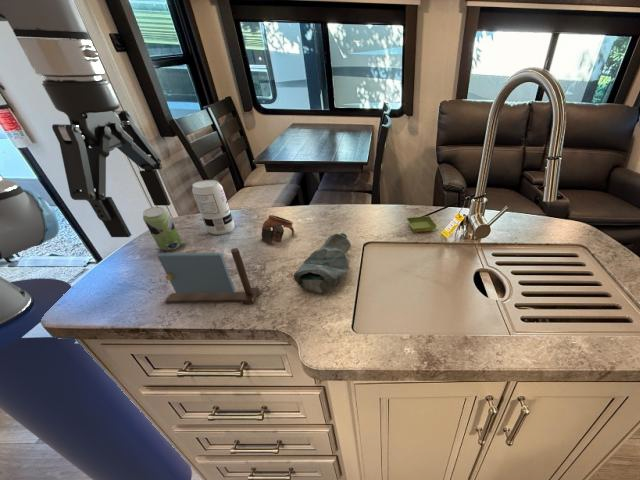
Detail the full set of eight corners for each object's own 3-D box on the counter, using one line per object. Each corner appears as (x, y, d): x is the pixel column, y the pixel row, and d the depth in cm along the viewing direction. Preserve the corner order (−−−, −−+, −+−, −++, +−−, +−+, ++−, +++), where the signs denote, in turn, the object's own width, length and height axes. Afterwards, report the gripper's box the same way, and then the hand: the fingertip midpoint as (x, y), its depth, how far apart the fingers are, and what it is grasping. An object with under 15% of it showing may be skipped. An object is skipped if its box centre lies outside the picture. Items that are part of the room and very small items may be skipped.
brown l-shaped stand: (164, 305, 74) (136, 256, 66) (174, 292, 78) (150, 245, 70) (253, 303, 75) (237, 255, 67) (259, 291, 79) (245, 244, 71)
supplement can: (203, 230, 104) (185, 183, 95) (227, 222, 109) (213, 177, 100) (215, 238, 100) (197, 190, 91) (240, 229, 105) (225, 183, 96)
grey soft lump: (337, 299, 77) (367, 248, 96) (332, 275, 72) (364, 226, 91) (288, 295, 79) (326, 246, 98) (279, 271, 75) (322, 224, 94)
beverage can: (181, 240, 98) (164, 202, 91) (186, 250, 94) (168, 211, 86) (157, 246, 95) (138, 207, 88) (161, 256, 91) (141, 216, 83)
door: (174, 295, 73) (154, 258, 67) (178, 290, 75) (159, 253, 69) (232, 294, 74) (218, 257, 68) (235, 289, 76) (221, 252, 70)
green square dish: (437, 232, 107) (437, 226, 106) (412, 234, 105) (412, 228, 104) (429, 221, 114) (429, 215, 113) (405, 223, 112) (405, 217, 111)
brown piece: (258, 237, 102) (264, 212, 100) (288, 245, 107) (294, 221, 105) (260, 244, 92) (267, 216, 90) (293, 252, 97) (301, 226, 95)
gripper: (31, 87, 36) (125, 253, 49) (149, 73, 55) (194, 194, 68) (-44, 85, 35) (72, 253, 48) (103, 72, 55) (157, 194, 68)
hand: (144, 219), depth 58 cm, fingers open, 13 cm apart
